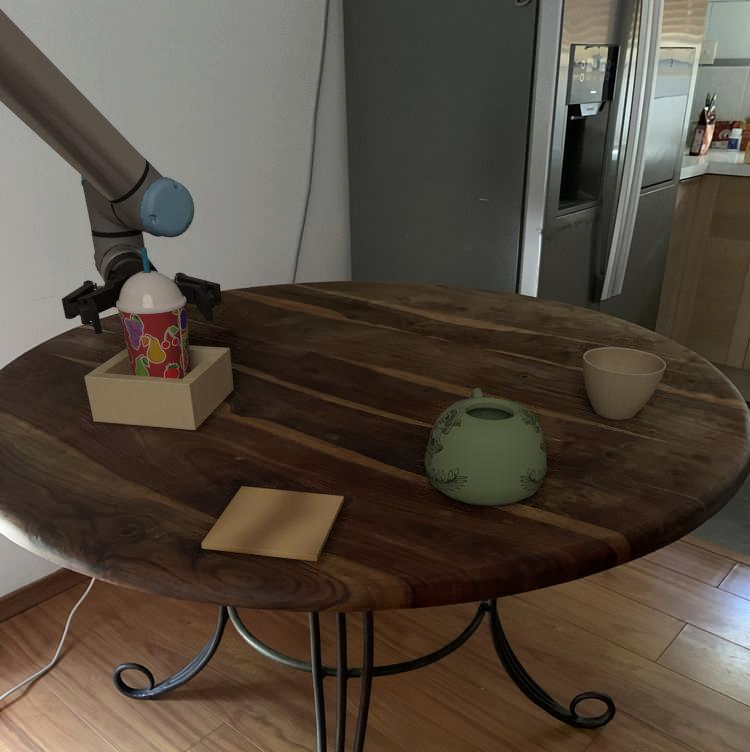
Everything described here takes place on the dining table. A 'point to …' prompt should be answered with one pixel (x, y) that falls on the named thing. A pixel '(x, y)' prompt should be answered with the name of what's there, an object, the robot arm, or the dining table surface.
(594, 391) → the flower pot
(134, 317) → the smoothie
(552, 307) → the dining table surface
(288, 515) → the cork mat
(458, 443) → the green rounded ceramic pot
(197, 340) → the dining table surface
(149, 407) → the square beige tray
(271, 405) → the dining table surface
